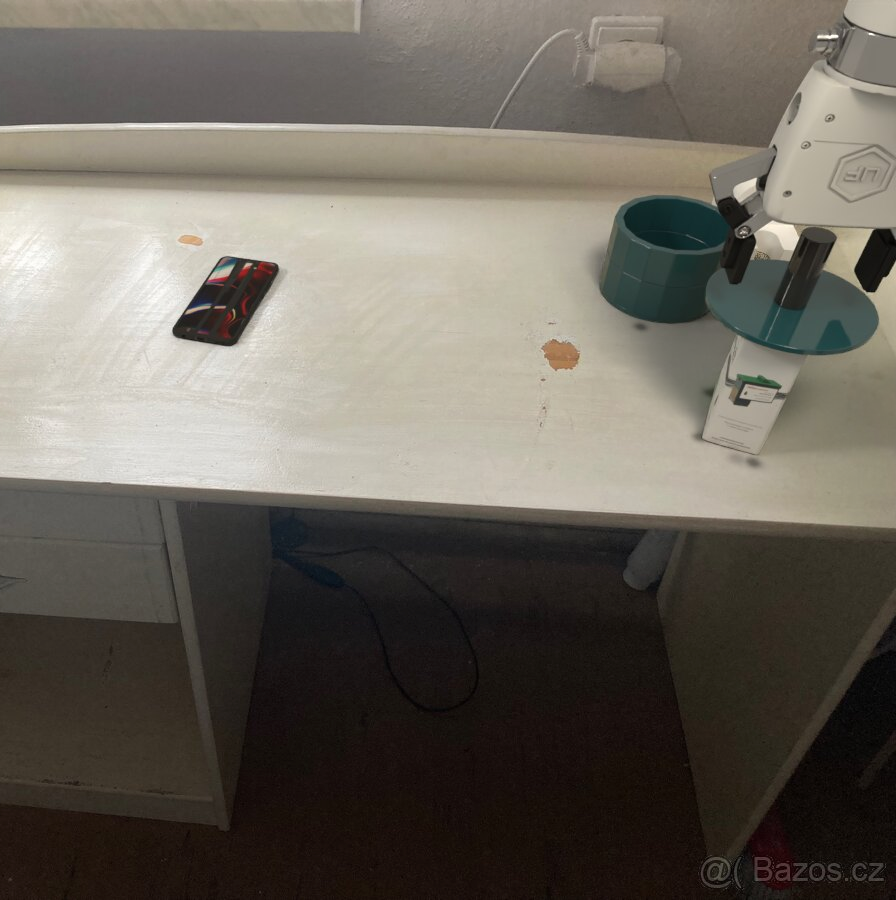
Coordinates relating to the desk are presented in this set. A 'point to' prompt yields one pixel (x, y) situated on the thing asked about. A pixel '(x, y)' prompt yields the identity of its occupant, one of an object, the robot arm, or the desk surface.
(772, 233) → the slotted bracket
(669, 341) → the desk surface
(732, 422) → the ink box
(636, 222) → the pot
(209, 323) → the smartphone
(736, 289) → the lid
